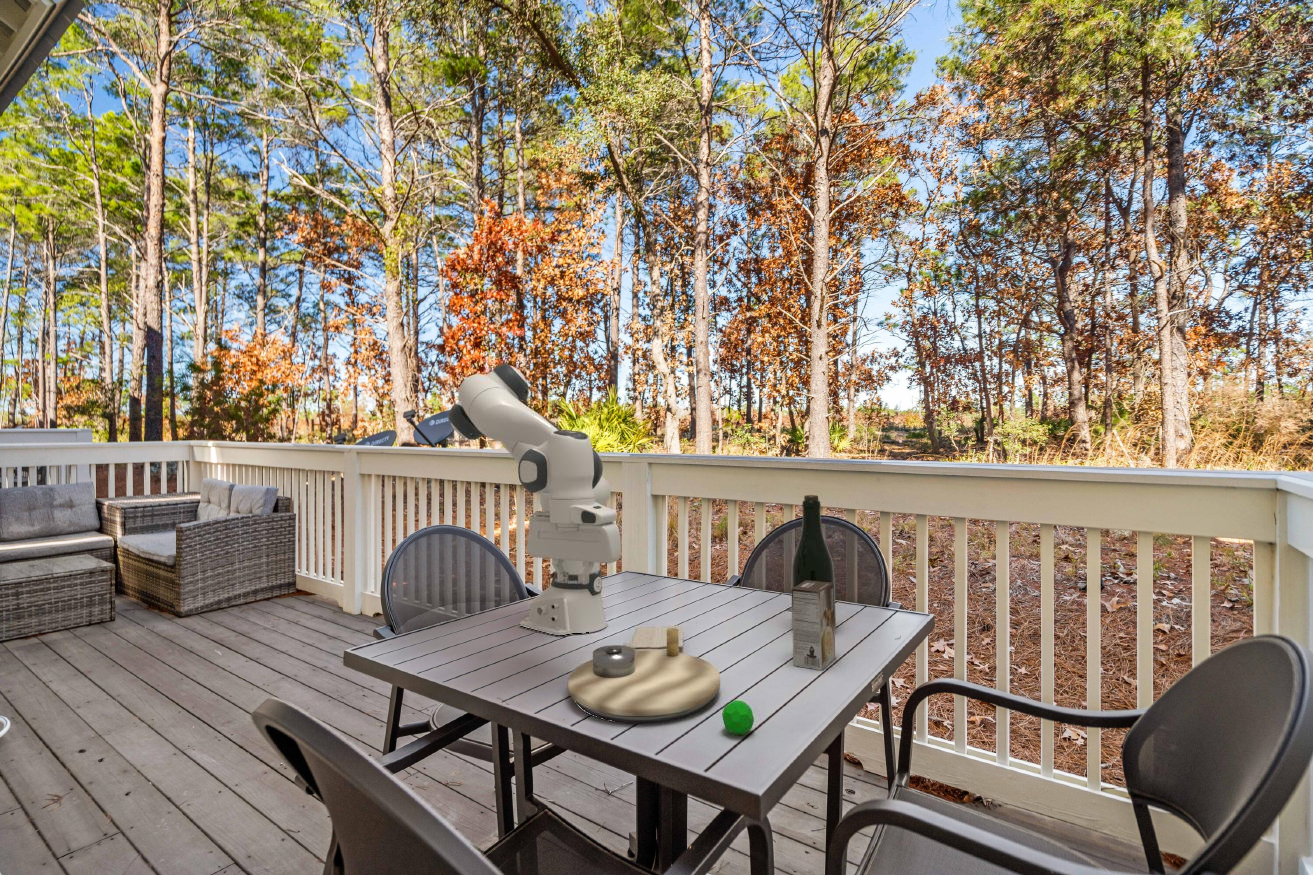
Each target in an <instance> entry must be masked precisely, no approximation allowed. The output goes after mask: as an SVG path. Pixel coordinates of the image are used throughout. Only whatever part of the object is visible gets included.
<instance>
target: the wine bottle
mask: <svg viewBox="0 0 1313 875" xmlns="http://www.w3.org/2000/svg"><path fill="white" fill-rule="evenodd" d="M803 498H804V499H803V501H802V504H801V507H802V527H801V534H800V537H799V541H798V544H797V547H796V549H795V551H794V552H795V553H794V556H793V558H792V565H791V589H792V588H794V587H796V586H797V585H799V584H801V583H802V582H804V581H806V580H807V581H818V582H829V583H834V617H835V631H836V629H837V618H836V617H837V615H836V612H837V610H836V588H835V584H836V583H835V572H834V571H835V570H834V562H833V559H832V558H833V557H832V555H831V553H830V551H829V548H828V546H827V542H826V541H825V540H826V539H825V538H824V534H823V529H822V518H821V516H822V515H821V506H822V503H821V500H819V496H818V495H815V494H808V495H806V494H805V495H804V497H803ZM791 627H792V628H793V625H792V624H791Z"/></svg>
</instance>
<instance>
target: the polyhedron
mask: <svg viewBox="0 0 1313 875" xmlns="http://www.w3.org/2000/svg"><path fill="white" fill-rule="evenodd" d="M721 716H722V721H723V725H724V728H725V729H726V730H727V731H728V732H729V733H731V734H733V735H738V736H742V735H744V734H746V733H747V732H748V731H750V730H751V729H752V728H753V725H754V722H755V718H754V714H753V711H752V707H750V705H748V704H747V703H746V702H745V701H743V700H733V701H732V702H730V703H729V704H727V705H726V706H725V707H723V710H722V713H721Z"/></svg>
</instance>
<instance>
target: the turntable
mask: <svg viewBox="0 0 1313 875" xmlns="http://www.w3.org/2000/svg"><path fill="white" fill-rule="evenodd" d="M567 681H568V682H567V683H568V686H567V687H568V694H569V695H570V697H571V698H572V700H574V702H575V701H576V702H578V703H579V704H581V705H583V706H585V707H587V708H590V709H593V710H595V711H599V712H603V713H608V714H614V715H623V716H656V715H665V714H672V713H677V712H682V711H685V710H689V709H692V708H695V707H698V706H700V705H702V704H704V703H706V702H708V701H709V700H711V699H712V698H713V697H714V696H716V695H717V694H718V693H719V691H720V688H721V674H720V671H719V669H717V668H716V667H715V665H713V664H712V663H710V662H709V661H707V660H704V659H702V658H700V657H696V656H693V655H690V654H686V653H683V652H682V653H679V642H678V629H675V628H670V629H667V651H635V672H634V673H632V674H631V675H628V676H625V677H620V678H603V677H599V676H597V675H595V674H594V673H593V658H592V659H590V660H588V661H586V662H583V663H582V664H580V665H579V666H576V667H575V668H574V669H573V670H572V671H571V673H570V674H569V676H568V680H567ZM714 698H715V697H714Z"/></svg>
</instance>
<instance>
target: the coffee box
mask: <svg viewBox="0 0 1313 875" xmlns="http://www.w3.org/2000/svg"><path fill="white" fill-rule="evenodd" d="M834 584H835V582H834V583H829V582H818V581H807V580H806V581H804V582H802V583H801V584H799V585H797V586H796V587H794V588H792V587H791V626H792V625H793V627H792V652H793V653H792V659H793V666H795V667H798V668H799V667H800V668H805V669H809V668H812V669H811V670H815V669H817V670H816V671H821V670H823V669H824V668H825V669H826V668H827V667H828V666H829V665H830V663H832V661H834V659H836V630H835V617H834ZM825 669H824V670H825ZM824 670H823V671H824Z"/></svg>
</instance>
